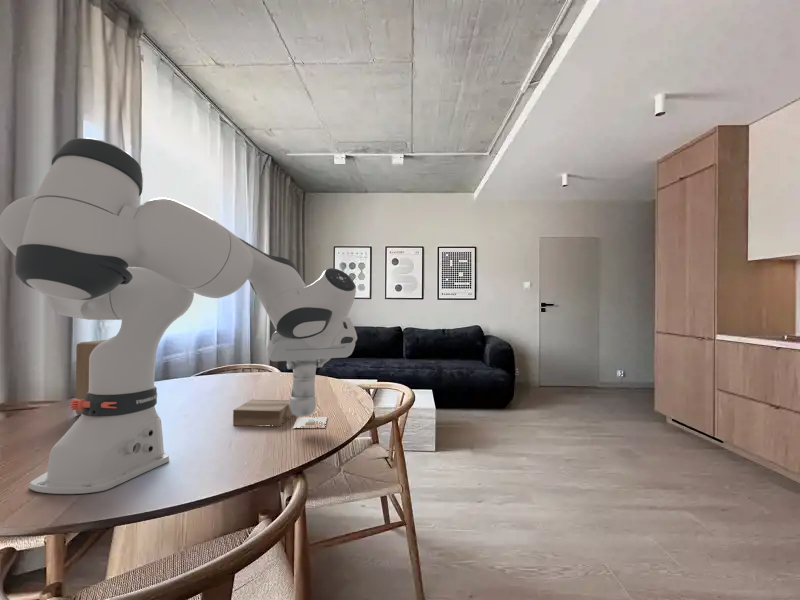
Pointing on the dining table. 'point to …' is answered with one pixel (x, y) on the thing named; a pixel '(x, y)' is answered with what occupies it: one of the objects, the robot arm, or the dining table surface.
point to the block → (83, 368)
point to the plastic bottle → (303, 388)
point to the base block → (262, 412)
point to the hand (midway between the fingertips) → (304, 366)
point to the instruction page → (308, 421)
